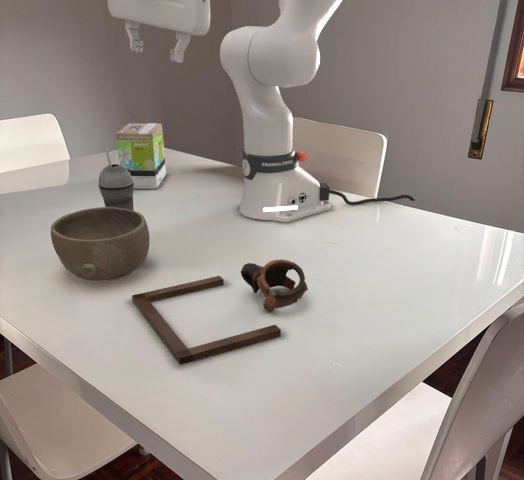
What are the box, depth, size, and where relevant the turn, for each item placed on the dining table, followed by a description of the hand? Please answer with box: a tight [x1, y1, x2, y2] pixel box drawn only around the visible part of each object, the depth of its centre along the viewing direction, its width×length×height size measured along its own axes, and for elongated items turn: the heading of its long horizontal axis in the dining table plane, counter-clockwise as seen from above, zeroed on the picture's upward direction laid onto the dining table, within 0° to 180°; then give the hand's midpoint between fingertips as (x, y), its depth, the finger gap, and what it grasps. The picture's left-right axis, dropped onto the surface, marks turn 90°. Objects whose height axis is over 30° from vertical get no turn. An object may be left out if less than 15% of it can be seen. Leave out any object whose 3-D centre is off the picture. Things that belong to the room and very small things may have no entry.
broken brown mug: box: [240, 259, 309, 313], centre depth 95 cm, size 12×10×8 cm
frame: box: [131, 275, 282, 366], centre depth 91 cm, size 16×23×1 cm
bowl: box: [50, 206, 150, 282], centre depth 105 cm, size 17×18×10 cm
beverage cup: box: [98, 141, 135, 211], centre depth 118 cm, size 7×7×20 cm
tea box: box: [115, 122, 167, 190], centre depth 156 cm, size 15×10×15 cm, turn 179°
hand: (156, 56), depth 98 cm, fingers open, 8 cm apart
